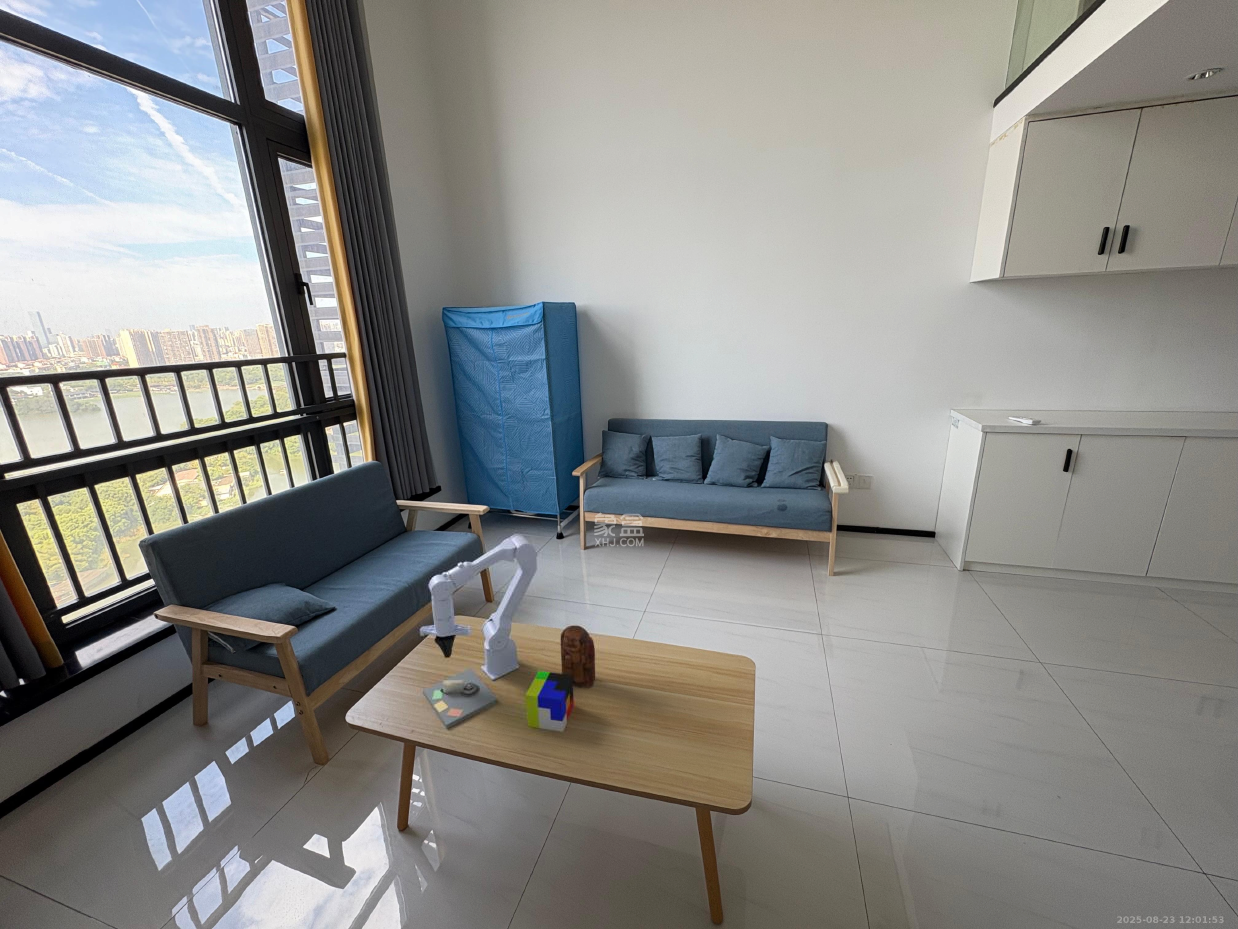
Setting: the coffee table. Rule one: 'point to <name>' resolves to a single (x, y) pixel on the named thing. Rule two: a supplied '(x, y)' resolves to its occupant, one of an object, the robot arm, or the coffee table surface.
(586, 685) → the wooden figurine
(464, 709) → the tuner board
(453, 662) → the coffee table surface
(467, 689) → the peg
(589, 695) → the coffee table surface
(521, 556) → the robot arm
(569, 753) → the coffee table surface
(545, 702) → the puzzle toy
